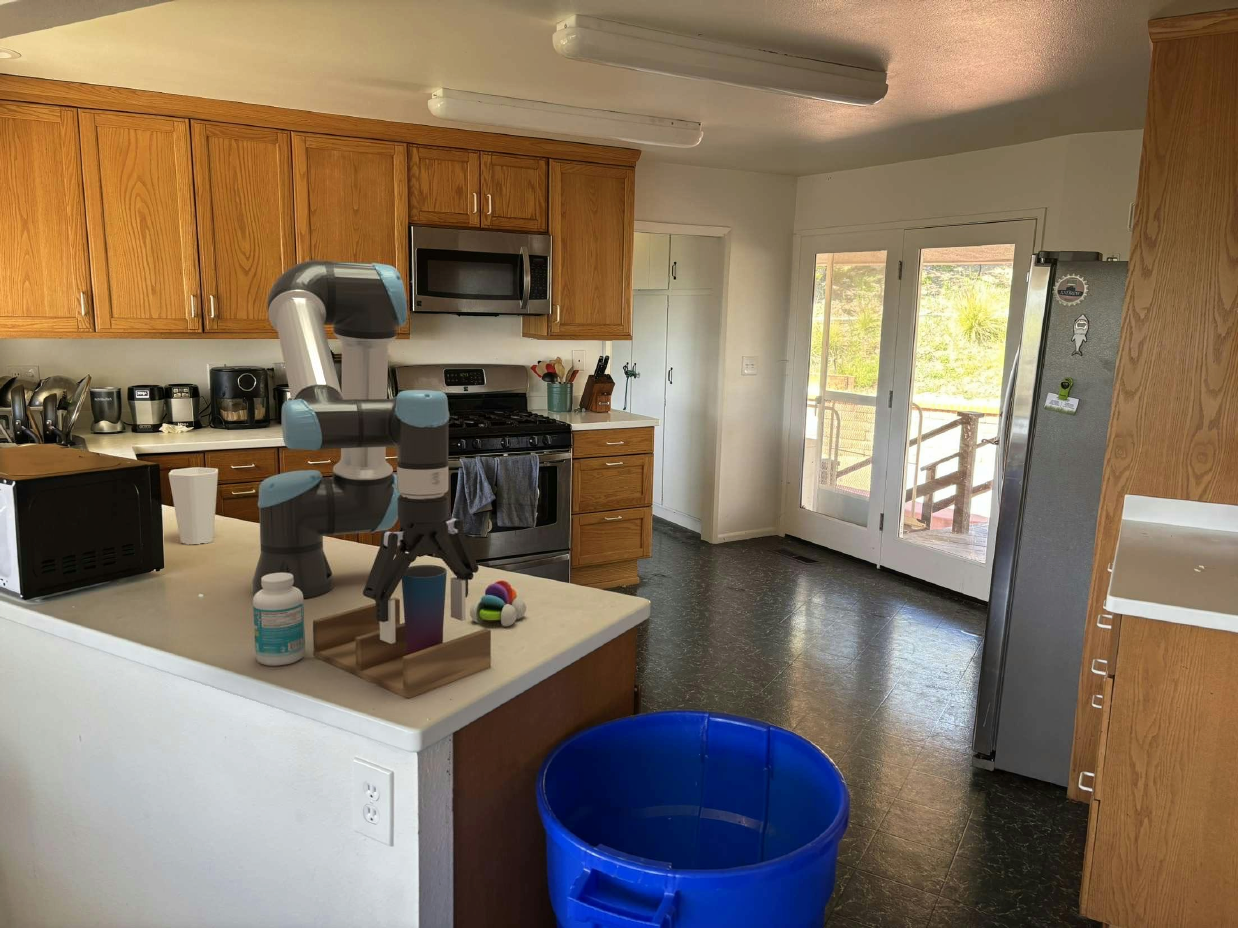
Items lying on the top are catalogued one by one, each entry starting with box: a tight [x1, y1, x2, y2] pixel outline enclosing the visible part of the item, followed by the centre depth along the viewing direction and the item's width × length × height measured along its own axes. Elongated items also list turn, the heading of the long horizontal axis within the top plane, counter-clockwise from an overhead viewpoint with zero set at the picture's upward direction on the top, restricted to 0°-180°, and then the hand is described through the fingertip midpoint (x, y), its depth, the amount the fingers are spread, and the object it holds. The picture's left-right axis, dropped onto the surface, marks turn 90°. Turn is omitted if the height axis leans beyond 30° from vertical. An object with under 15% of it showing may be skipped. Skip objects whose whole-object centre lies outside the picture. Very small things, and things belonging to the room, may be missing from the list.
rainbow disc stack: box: [469, 580, 527, 628], centre depth 158 cm, size 8×10×7 cm
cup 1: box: [168, 466, 219, 545], centre depth 206 cm, size 11×10×17 cm
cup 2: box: [401, 564, 448, 655], centre depth 133 cm, size 7×7×15 cm
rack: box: [312, 597, 492, 699], centre depth 137 cm, size 24×16×6 cm, turn 52°
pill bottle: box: [252, 573, 306, 667], centre depth 137 cm, size 8×7×14 cm
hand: (424, 629), depth 133 cm, fingers open, 13 cm apart
